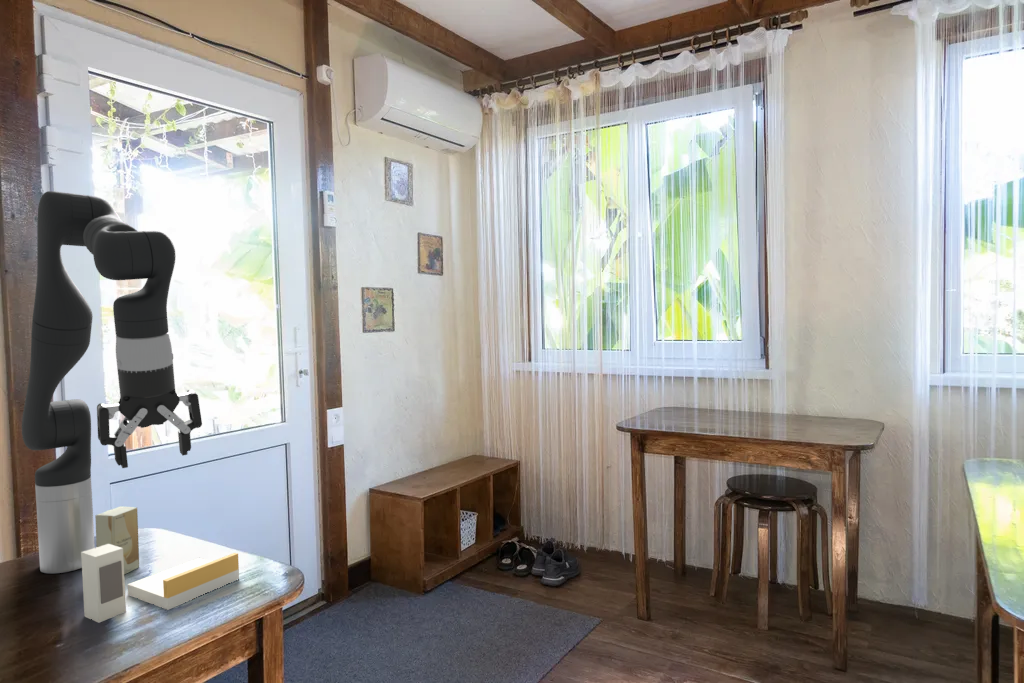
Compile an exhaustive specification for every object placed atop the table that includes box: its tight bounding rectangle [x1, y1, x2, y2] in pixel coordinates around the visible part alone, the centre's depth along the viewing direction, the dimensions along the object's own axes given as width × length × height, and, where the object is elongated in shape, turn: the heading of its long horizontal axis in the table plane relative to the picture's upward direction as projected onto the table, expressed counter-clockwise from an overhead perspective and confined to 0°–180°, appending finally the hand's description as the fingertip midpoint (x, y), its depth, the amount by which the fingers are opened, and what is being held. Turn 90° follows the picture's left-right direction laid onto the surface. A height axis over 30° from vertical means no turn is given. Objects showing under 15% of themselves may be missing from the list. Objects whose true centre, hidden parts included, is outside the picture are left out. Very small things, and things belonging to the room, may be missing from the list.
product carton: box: [81, 544, 127, 624], centre depth 110 cm, size 5×4×11 cm
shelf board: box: [127, 552, 240, 611], centre depth 120 cm, size 12×14×5 cm
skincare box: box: [95, 505, 140, 575], centre depth 127 cm, size 6×4×12 cm
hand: (154, 459), depth 104 cm, fingers open, 8 cm apart
